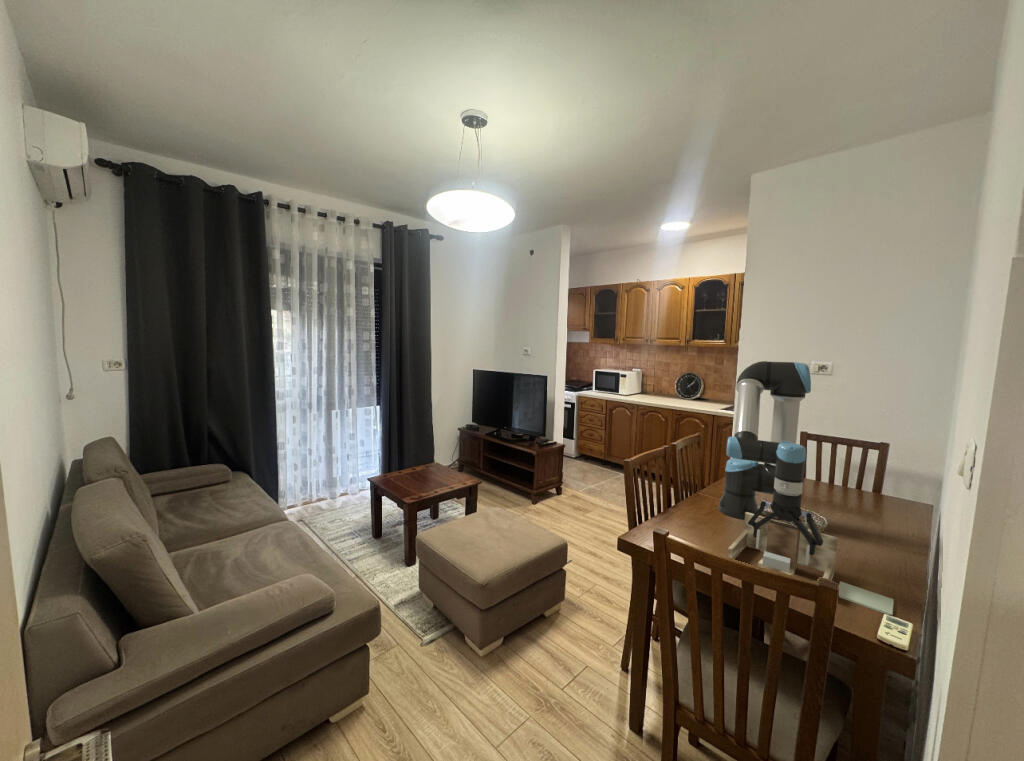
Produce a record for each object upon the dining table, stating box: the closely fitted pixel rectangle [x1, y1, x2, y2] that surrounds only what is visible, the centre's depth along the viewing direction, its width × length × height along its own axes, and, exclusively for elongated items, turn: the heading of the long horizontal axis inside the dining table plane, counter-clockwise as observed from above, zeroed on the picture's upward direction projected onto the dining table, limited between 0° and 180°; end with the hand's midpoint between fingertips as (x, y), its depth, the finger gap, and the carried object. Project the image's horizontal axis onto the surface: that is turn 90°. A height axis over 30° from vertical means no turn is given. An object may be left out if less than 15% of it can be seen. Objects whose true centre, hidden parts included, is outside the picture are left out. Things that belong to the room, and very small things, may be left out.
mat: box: [838, 581, 895, 616], centre depth 117 cm, size 12×9×1 cm
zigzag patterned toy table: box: [727, 512, 839, 581], centre depth 131 cm, size 26×19×12 cm
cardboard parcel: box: [766, 519, 800, 574], centre depth 133 cm, size 8×4×14 cm, turn 45°
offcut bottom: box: [757, 558, 795, 577], centre depth 129 cm, size 9×4×3 cm, turn 42°
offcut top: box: [762, 551, 791, 573], centre depth 129 cm, size 7×4×3 cm, turn 53°
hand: (781, 555), depth 133 cm, fingers open, 13 cm apart
